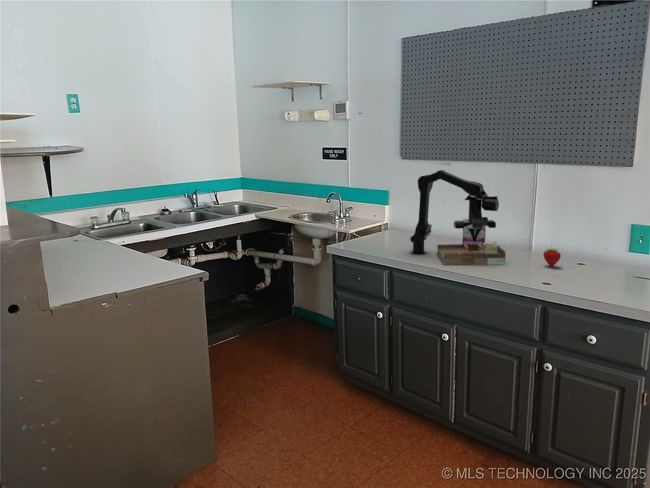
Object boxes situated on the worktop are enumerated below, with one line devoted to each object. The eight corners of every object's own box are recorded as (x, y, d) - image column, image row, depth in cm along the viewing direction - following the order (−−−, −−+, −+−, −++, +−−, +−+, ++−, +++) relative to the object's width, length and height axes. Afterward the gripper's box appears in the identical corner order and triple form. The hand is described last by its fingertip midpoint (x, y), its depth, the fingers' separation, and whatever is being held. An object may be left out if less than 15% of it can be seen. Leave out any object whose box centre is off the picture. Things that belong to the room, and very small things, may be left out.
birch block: (482, 251, 246) (483, 243, 245) (494, 251, 246) (494, 243, 245) (485, 254, 241) (486, 246, 240) (497, 254, 240) (497, 245, 239)
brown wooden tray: (437, 254, 255) (437, 242, 254) (493, 253, 253) (494, 241, 252) (443, 265, 236) (444, 252, 234) (505, 264, 234) (505, 251, 232)
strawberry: (555, 269, 223) (556, 247, 221) (539, 266, 229) (541, 244, 227) (562, 267, 226) (564, 245, 224) (547, 263, 232) (548, 242, 230)
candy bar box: (485, 248, 263) (486, 218, 259) (484, 251, 258) (485, 219, 254) (463, 247, 267) (464, 217, 263) (461, 249, 262) (462, 218, 258)
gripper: (458, 213, 231) (457, 246, 235) (499, 212, 230) (498, 245, 234) (453, 209, 242) (453, 240, 246) (493, 208, 241) (492, 240, 245)
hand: (473, 241), depth 242 cm, fingers closed
